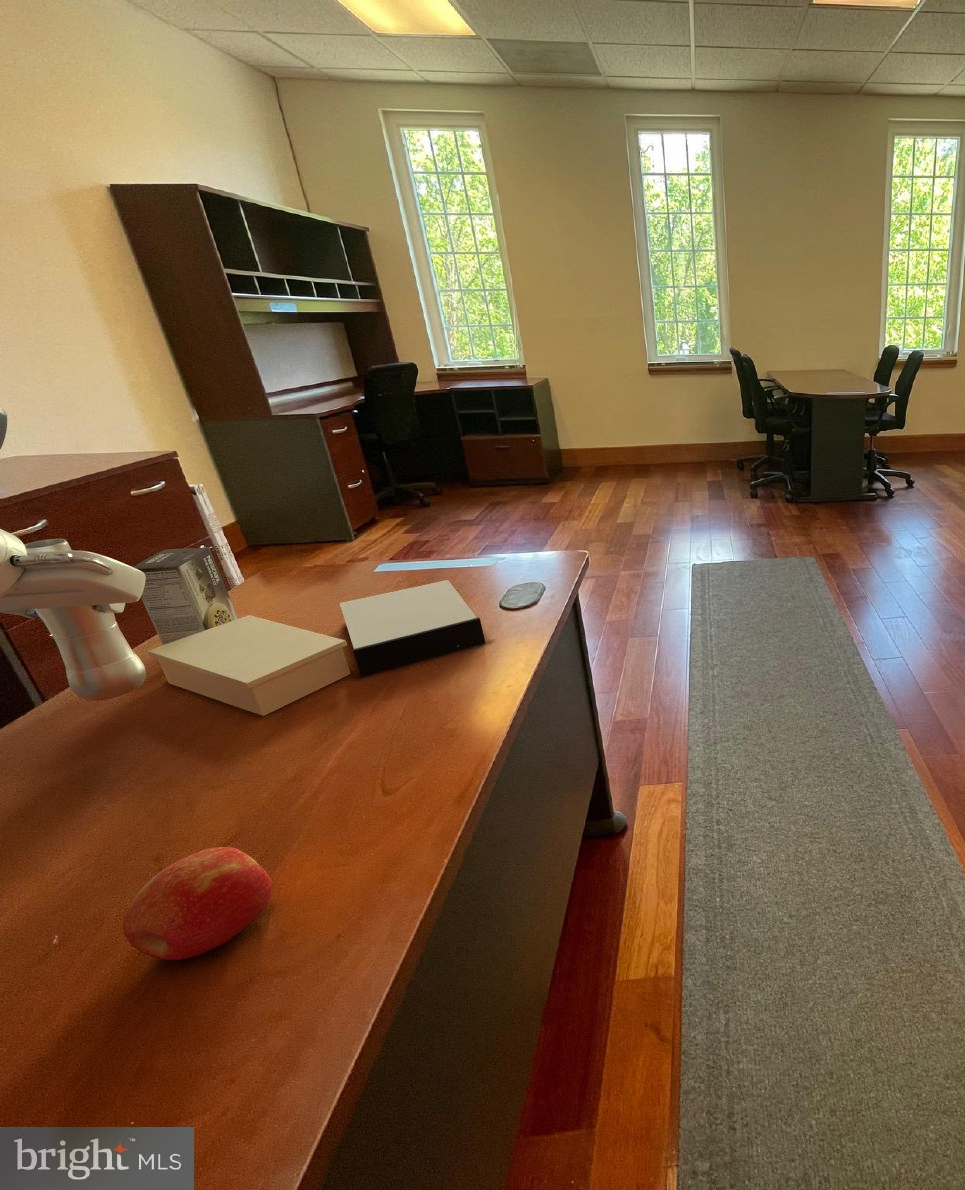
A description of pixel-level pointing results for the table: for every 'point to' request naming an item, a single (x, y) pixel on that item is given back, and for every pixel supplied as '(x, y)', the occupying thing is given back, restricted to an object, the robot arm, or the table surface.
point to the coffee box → (184, 593)
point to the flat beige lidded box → (253, 663)
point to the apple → (197, 904)
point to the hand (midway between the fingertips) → (80, 609)
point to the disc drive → (409, 626)
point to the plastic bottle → (90, 644)
